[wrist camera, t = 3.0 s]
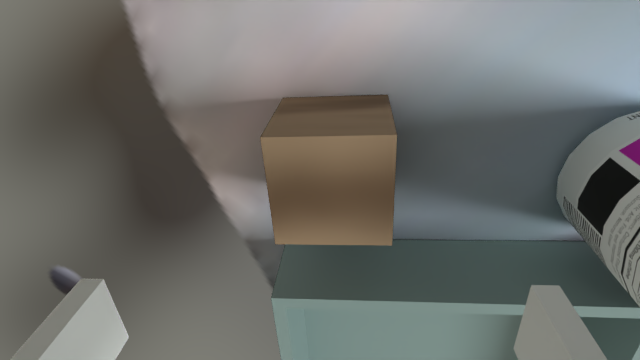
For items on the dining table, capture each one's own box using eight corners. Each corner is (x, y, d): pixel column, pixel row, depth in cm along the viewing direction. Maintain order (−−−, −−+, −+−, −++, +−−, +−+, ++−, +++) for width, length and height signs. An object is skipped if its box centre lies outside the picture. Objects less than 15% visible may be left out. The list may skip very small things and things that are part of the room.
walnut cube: (283, 97, 22) (260, 137, 17) (387, 94, 22) (397, 134, 16) (292, 186, 25) (275, 244, 20) (384, 186, 24) (392, 245, 19)
